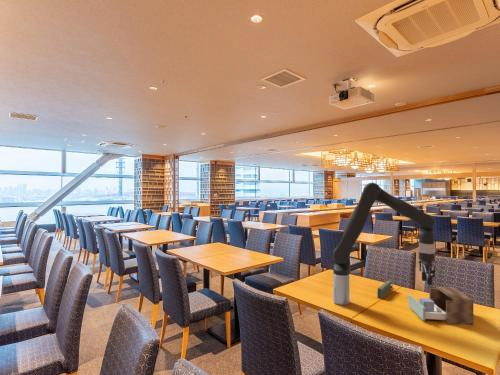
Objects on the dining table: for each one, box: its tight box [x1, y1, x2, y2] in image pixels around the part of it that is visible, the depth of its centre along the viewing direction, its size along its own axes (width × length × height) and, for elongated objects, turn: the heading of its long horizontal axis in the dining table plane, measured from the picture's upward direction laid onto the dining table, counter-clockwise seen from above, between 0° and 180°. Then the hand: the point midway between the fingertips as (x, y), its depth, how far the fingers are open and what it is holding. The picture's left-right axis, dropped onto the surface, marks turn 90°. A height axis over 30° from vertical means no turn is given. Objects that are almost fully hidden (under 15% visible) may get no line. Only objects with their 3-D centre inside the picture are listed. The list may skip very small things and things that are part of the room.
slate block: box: [419, 297, 434, 312], centre depth 156 cm, size 5×5×6 cm
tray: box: [407, 293, 446, 321], centre depth 156 cm, size 12×19×6 cm, turn 171°
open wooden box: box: [429, 286, 475, 326], centre depth 154 cm, size 12×19×13 cm, turn 171°
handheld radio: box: [376, 279, 394, 300], centre depth 188 cm, size 7×3×25 cm
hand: (426, 282), depth 156 cm, fingers open, 5 cm apart
